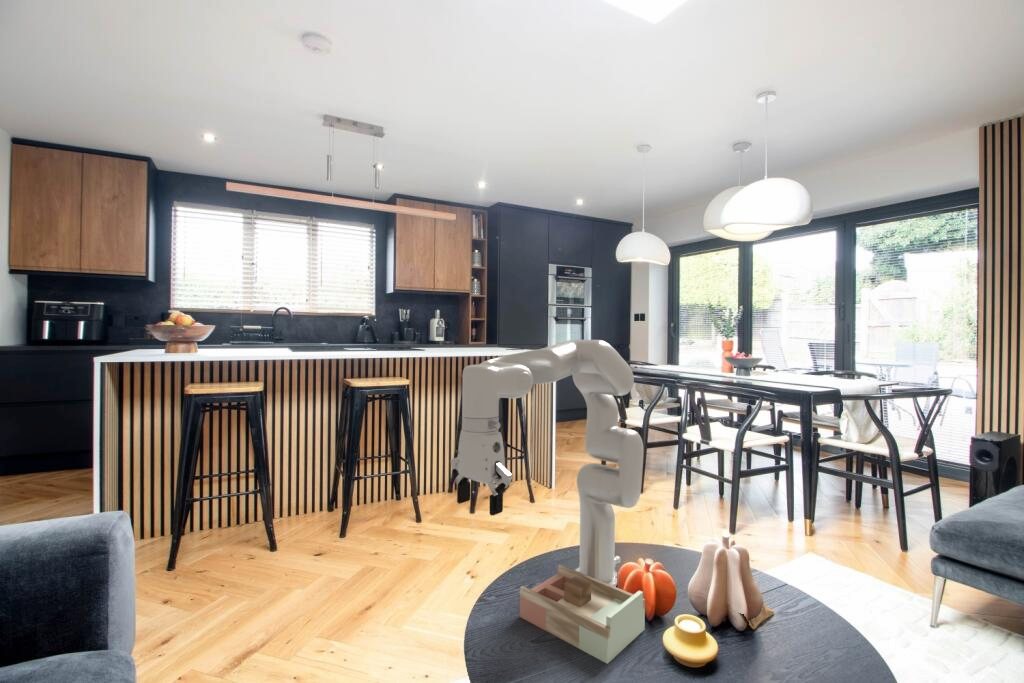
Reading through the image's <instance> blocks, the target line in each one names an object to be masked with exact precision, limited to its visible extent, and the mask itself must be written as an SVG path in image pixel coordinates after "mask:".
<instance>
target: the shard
mask: <svg viewBox="0 0 1024 683" xmlns="http://www.w3.org/2000/svg"><path fill="white" fill-rule="evenodd" d="M774 614H775V612H774V610H773V609H771V608H769V607H768V606H767V605H766V604H765V605H764V604H763V609H762V611H761V613H760V614H759V615H758V616H757V617H756V618H753V619H751V620H749V624H748V626H750V628H751V629H752V630H756V629H757V628H758V626H759V625H760V624H762V623H763V622H764V621H765V620H766V619H768V618H770V617H771V616H773V615H774Z"/></svg>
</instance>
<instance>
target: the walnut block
mask: <svg viewBox="0 0 1024 683" xmlns="http://www.w3.org/2000/svg"><path fill="white" fill-rule="evenodd" d="M564 600H565V601H567V602H569V603H571V604H573V605H576V606H578V607H582V606H583V605H585V604H586V603H587V602H589V601H590V600H591V583H590V582H588V581H586V580H583V579H581V578H578V577H576V576H575V577H574V578H572V579H570V580H569V581H567V582H565V583H564Z"/></svg>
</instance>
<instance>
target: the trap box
mask: <svg viewBox="0 0 1024 683" xmlns="http://www.w3.org/2000/svg"><path fill="white" fill-rule="evenodd" d="M557 569H558V570H557V574H555V575H553V576H552V577H549V578H548V579H546V580H544V581H543V582H541V583H540V584H538V585H536V586H535V587H533V588H531V589H530V588H528V587H526V586H524V585H521V586H519V618H520V619H523V620H525V621H527V622H529V623H531V624H532V625H534V626H536V627H538V628H540V629H542V630H544V631H545V632H548V633H549V634H551V635H553V636H555V637H557V638H558V639H560V640H562V641H564V642H567V643H568V644H570V645H572V646H573V647H575V648H577V649H578V650H581V651H583V652H584V653H586V654H588V655H590V656H593V657H594V658H596V659H598V660H599V661H601V662H603V663H605V664H606V665H607V664H609V663H610V662H611V661H613V660H614V659H615V657H617V656H618V655H619V654H620V653H621V652H622V651H623V650H625V649H626V647H627V646H628V645H629V644H631V643H632V642H633V641H634V640H635V639H636V638H638V636H639V635H640V634H642V633H643V631H645V629H646V628H645V626H646V625H645V624H646V622H645V621H646V619H645V618H646V616H645V615H646V598H644V591H641V590H638V591H636V592H635V593H631V592H628V591H627V590H624V589H622V588H619V587H618V586H617V587H614V586H612V585H609V584H607V583H605V582H602V581H600V580H597V579H595V578H592V577H590V576H587V575H585V574H582V573H580V572H578V571H575V570H576V569H572V568H569V567H567V566H565V565H563V564H559V565H558V567H557ZM575 576H576V577H578V578H581V579H583V580H586V581H588V582H590V583H591V600H590V601H589V602H587V603H586V604H585V605H583V606H582V607H578V606H576V605H573V604H571V603H569V602H567V601H565V600H564V583H565V582H567V581H569V580H570V579H572V578H574V577H575Z"/></svg>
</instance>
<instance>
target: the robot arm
mask: <svg viewBox="0 0 1024 683" xmlns="http://www.w3.org/2000/svg"><path fill="white" fill-rule="evenodd" d="M569 376H572V380H573V383H574V386H576V388H577V389H578V390H579V392H580V393H581V395H582V396H583V398H584V401H585V403H586V408H587V409H586V411H587V412H586V426H585V440H584V441H585V442H584V445H585V451H586V453H587V455H588V456H589V457H591V458H593V459H596V460H599V461H604V462H609V463H614V464H617V465H618V467H614V466H610V465H605V464H600V463H586V464H584V465H582V466H581V467H580V469H579V471H578V472H577V475H576V486H577V488H576V489H577V494H578V499H579V511H580V512H579V566H578V567H577V568H575V569H574V570H575V571H578V572H580V573H582V574H585V575H587V576H590V577H592V578H595V579H597V580H600V581H602V582H605V583H607V584H609V585H612V586H614V587H616V584H617V573H618V572H617V571H616V566H617V565H618V564H620V563H621V562H622V559H621V556H619V555H615V553H616V552H615V551H616V550H615V548H616V543H615V542H616V541H615V540H616V516H615V512H614V508H613V506H616V507H617V506H618V507H620V508H625V509H631V508H633V507H635V506H636V505H637V503H639V500H640V496H641V491H642V481H643V467H644V466H643V464H644V443H643V439H642V437H641V435H640V434H639V432H637V431H636V430H633V429H631V428H626V427H625V428H624V427H619V406H618V403H617V401H616V399H615V397H614V396H616V397H617V396H618V397H619V396H620V397H623V396H626V395H627V394H629V393H630V392H631V390H633V387H634V382H635V381H634V380H635V378H634V377H635V376H634V373H633V370H632V368H631V367H630V365H629V363H628V362H626V360H625V359H624V358H623V357H622V356H621V355H620V353H619V352H618V350H616V349H615V348H614V347H613V346H612V345H611V344H610V343H608V342H606V341H605V340H602V339H569V340H566V341H563V342H560V343H557V344H552V345H549V346H546V347H543V348H540V349H539V348H538V349H532V350H528V351H523V352H517V353H512V354H507V355H501V356H497V357H494V358H491V359H488V360H484V361H482V362H481V363H479V364H470V365H466V366H465V367H464V368H463V371H462V394H461V395H462V396H461V398H462V402H461V405H462V406H461V407H462V408H461V409H462V410H461V412H462V413H461V415H462V416H461V430H460V434H459V440H458V449H457V450H458V451H457V456H456V457H454V458H452V459H451V460H450V465H451V469H452V473H453V476H454V478H455V479H454V482H455V484H456V486H457V489H456V492H457V495H456V503H458V504H459V505H460V504H462V503H463V504H464V503H467V502H470V500H471V482H470V481H469V480H471V481H474V482H478V483H480V484H485V485H487V486H488V488H489V491H490V492H491V494H490V495H489V515H490V516H496V515H498V514H500V513H502V512H503V511H504V503H503V502H504V494H505V493H506V491H507V490H508V488H510V484H511V482H512V480H513V474H512V473H511V472H510V471H509V470H508V469H507V468H506V460H505V458H506V457H505V448H504V441H503V435H502V432H500V431H499V429H500V428H501V425H502V424H501V422H500V421H499V420H500V419H499V414H500V413H499V408H500V407H499V406H500V404H499V403H500V402H499V401H500V399H502V398H503V399H520V398H523V397H525V396H526V395H528V394H529V393H530V391H531V390H532V389H533V385H542V384H543V385H545V384H551V383H555V382H557V381H559V380H562V379H565V378H568V377H569ZM495 484H496V485H495ZM612 505H613V506H612Z"/></svg>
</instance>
